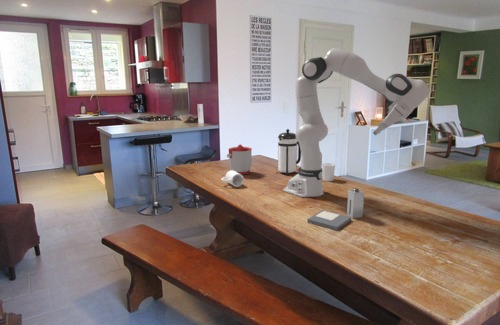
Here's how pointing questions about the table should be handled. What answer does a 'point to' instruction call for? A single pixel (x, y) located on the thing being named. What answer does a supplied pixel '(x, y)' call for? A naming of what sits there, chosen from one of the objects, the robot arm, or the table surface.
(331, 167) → the white cup
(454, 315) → the table surface
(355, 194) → the aluminium block
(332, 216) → the dock board
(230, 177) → the mug
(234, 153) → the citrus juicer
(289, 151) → the coffee press
